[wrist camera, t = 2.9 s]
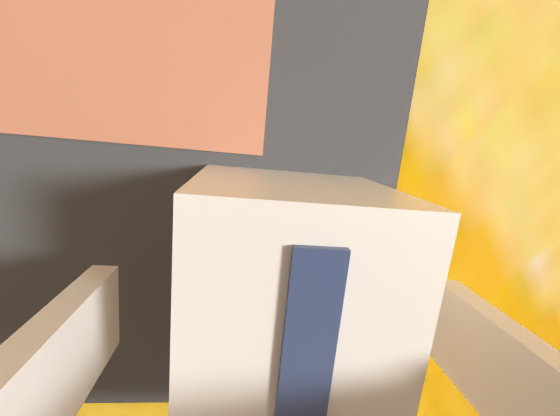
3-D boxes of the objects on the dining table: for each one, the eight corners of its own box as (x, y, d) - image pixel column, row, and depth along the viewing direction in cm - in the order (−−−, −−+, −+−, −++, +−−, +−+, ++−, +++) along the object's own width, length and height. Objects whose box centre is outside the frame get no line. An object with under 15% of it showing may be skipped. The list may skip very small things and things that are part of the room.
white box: (333, 373, 15) (394, 539, 9) (198, 372, 14) (163, 555, 8) (361, 176, 13) (467, 215, 7) (207, 164, 12) (171, 195, 6)
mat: (355, 390, 16) (360, 402, 15) (-4, 392, 14) (-18, 405, 13) (435, -87, 11) (447, -101, 11) (-70, -186, 9) (-94, -211, 9)
